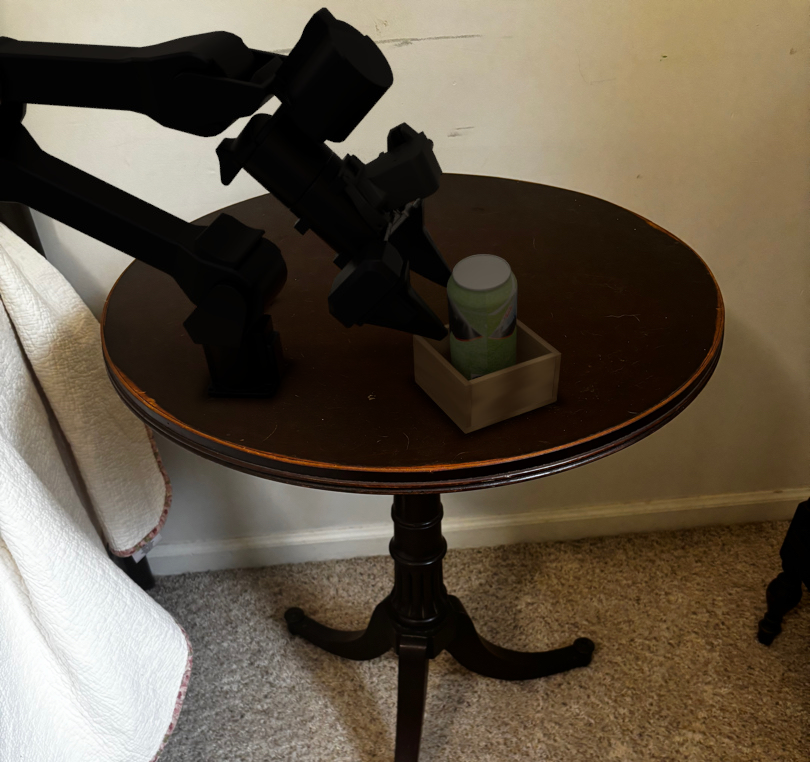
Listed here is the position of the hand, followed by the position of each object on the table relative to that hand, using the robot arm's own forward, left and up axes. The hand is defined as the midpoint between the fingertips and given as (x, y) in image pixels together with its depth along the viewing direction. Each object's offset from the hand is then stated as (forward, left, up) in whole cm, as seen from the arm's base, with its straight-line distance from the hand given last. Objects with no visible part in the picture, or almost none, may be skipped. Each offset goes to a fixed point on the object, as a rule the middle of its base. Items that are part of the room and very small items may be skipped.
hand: (448, 309), depth 70 cm
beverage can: (+3, +1, -8) cm, 9 cm away
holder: (+3, 0, -8) cm, 9 cm away
